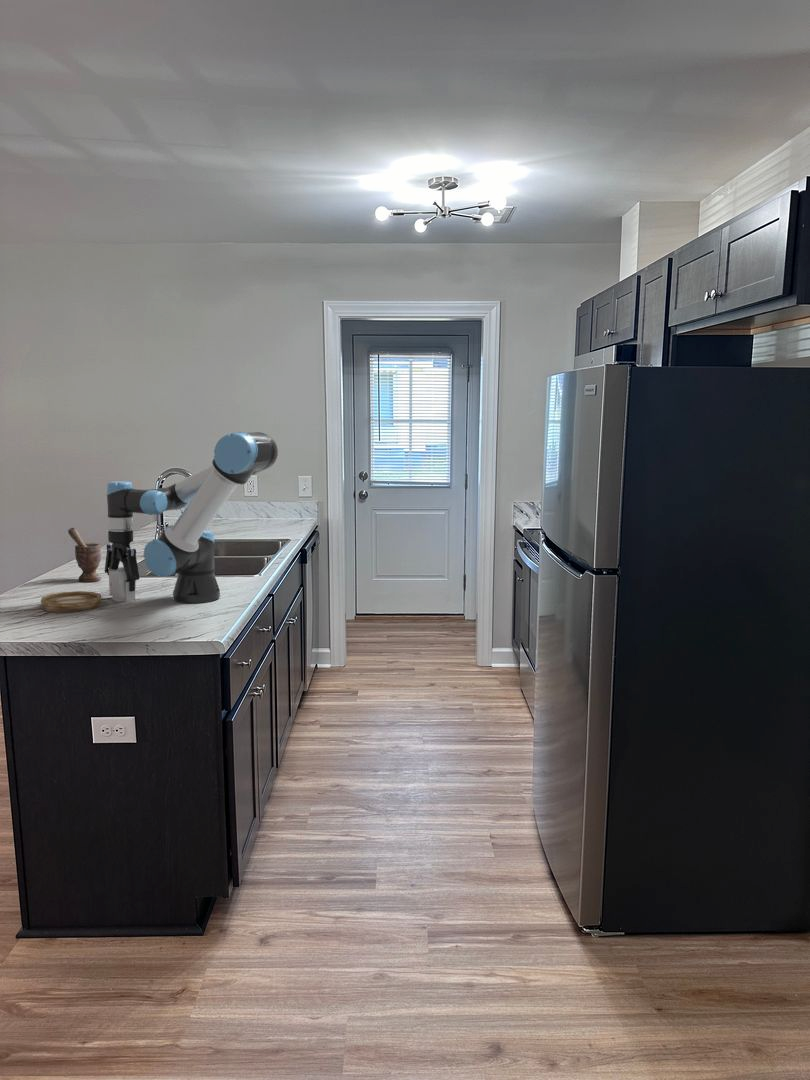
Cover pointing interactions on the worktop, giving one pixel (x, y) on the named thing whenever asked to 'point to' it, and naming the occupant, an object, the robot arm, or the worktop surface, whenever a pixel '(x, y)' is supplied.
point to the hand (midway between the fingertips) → (122, 597)
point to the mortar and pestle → (86, 557)
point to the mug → (118, 584)
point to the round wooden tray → (71, 602)
